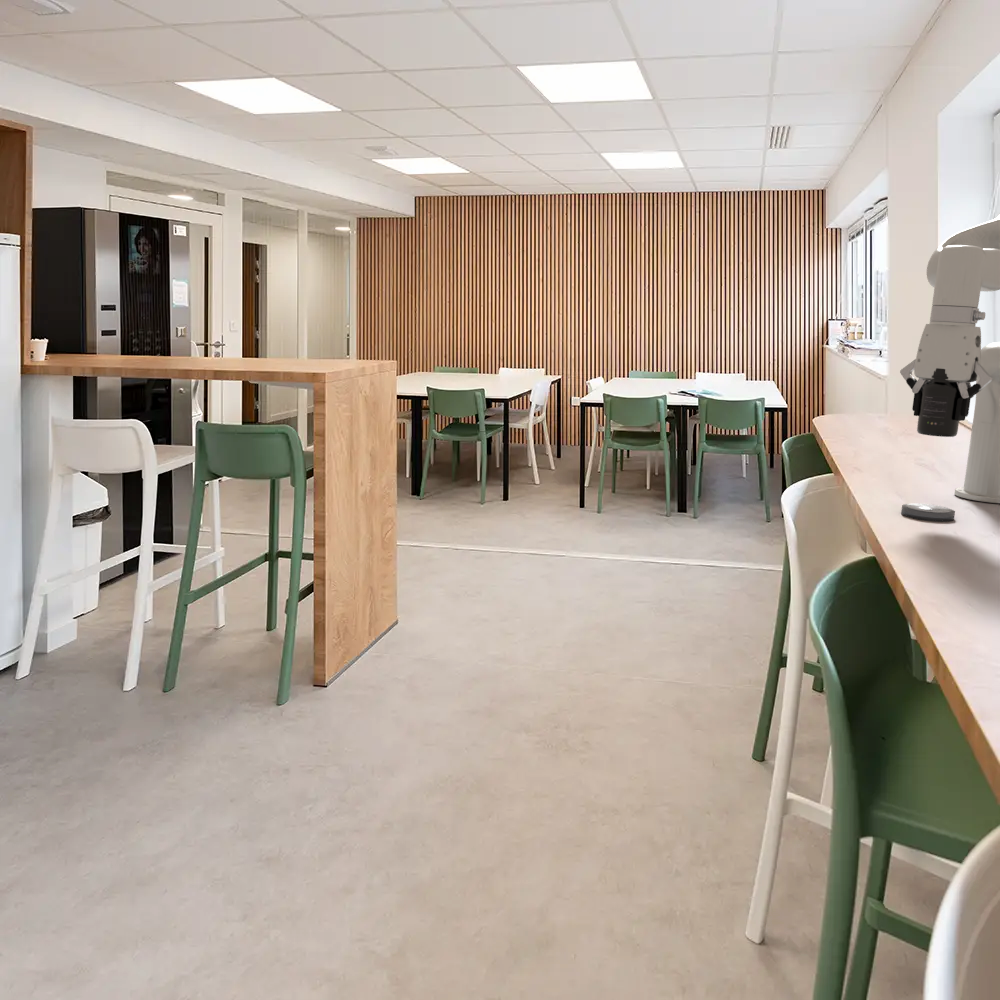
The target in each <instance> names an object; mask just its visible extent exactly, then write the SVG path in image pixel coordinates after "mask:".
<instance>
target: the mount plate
mask: <svg viewBox="0 0 1000 1000" xmlns="http://www.w3.org/2000/svg"><path fill="white" fill-rule="evenodd" d="M900 511H901V512H900V514H901V515H902V516H904V517H908V518H911V519H916V520H921V521H927V522H929V521H930V522H938V523H939V522H945V523H946V522H953V521H954V520H955V515H956V514H955V513H956V510H954V509H952V508H948V507H946V506H941V505H938V504H932V503H931V504H930V503H929V504H928V503H917V502H916V503H915V502H914V503H905V504H902V505H901V509H900Z"/></svg>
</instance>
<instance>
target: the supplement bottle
mask: <svg viewBox="0 0 1000 1000" xmlns="http://www.w3.org/2000/svg"><path fill="white" fill-rule="evenodd" d="M931 378H934V379H932V380H930V381H929V382H927V383H926V384H924V386H923V387H922V393H921V401H920V409H919V416H917V417H918V419H917V427H916V431H917V433H918V434H920V435H923V436H924V435H925V436H931V437H941V438H942V437H944V438H951V437H952V438H954V437H956V436H957V434H958V433H959V432H958V431H959V425H960V421H956V420H955V413H956V406H957V400H958V399H959V398H960V397H961V393H960V390H959V387H958V384H957V382H949V381H948V380H946V379H948V377H947V374H945V369H940V368H936V372H935V371H934V374H933V376H932V377H931Z"/></svg>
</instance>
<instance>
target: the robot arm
mask: <svg viewBox="0 0 1000 1000" xmlns="http://www.w3.org/2000/svg"><path fill="white" fill-rule="evenodd" d="M926 279H927V282H928V283H929V285H930V286H931V287H932V288H934V289H933V296H932V303H931V311H930V317H929V323H926V324H925V326H924V328H923V331H922V334H921V336H920V340H919V344H918V347H917V352H916V356H915V357H916V358H915V359H914V360H912V361H911V362H909V363H908V364H907V365H905V366H904V367H903V368H901V370H900V371H899V373H900V375H901V376H902V377H903V379H904V380H905V382H906V384H907V385H908V387H909V388H910V389H911V392H912V394H913V401H912V407H911V408H912V409H911V410H912V411H913V417H914V416H916V417H919V409H920V401H921V393H922V387H923V386H924V384H926V383H927V382H929V381H930V380H932V379H934V378H931V377H932V376H933V374H934V371H935V372H936V368H940V369H945V374H947V377H948V379H946V380H948V381H949V382H957V384H958V387H959V390H960V393H961V397H960V398H959V399H958V400H957V406H956V413H955V420H956V421H959V422H961V421H965V420H966V418H967V417H968V415H969V413H970V405H971V399H972V398H974V396H975V404H974V412H973V419H972V426H971V433H970V434H971V435H970V439H969V440H970V441H969V447H968V454H967V461H966V467H965V474H964V482H963V486H962V487H956V488H955V489H954V495H955V496H957V497H959V498H962V499H966V500H971V501H976V502H982V503H983V502H984V503H991V504H1000V341H998V342H997V341H996V342H991V343H989V344H987V345H985V346H983V347H982V332H981V326H976V324H978V322H979V321H984V320H985V319H986V312H984V311H980V308H979V302H980V297H981V296H980V295H981V292H996V291H997V292H998V291H1000V213H999V214H998V215H997V216H996V217H995V218H994V219H992V220H988V221H986V222H983V223H980V224H977V225H975V226H972V227H969V228H966V229H963V230H961V231H958V232H956V233H954V234H952V235H951V236H949V237H947V238H946V239H945V240H944V241H942V243H941V244H940V245H939V246H938V247H937V248H936V249H935V250H934V251H933V253H932V254H931V256H930V258H929V261H928V263H927V265H926ZM913 372H914V376H915V377H916V378H918V379H916V378H915V377H914V376H913ZM974 382H975V383H974ZM972 383H974V384H973V385H972Z"/></svg>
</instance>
